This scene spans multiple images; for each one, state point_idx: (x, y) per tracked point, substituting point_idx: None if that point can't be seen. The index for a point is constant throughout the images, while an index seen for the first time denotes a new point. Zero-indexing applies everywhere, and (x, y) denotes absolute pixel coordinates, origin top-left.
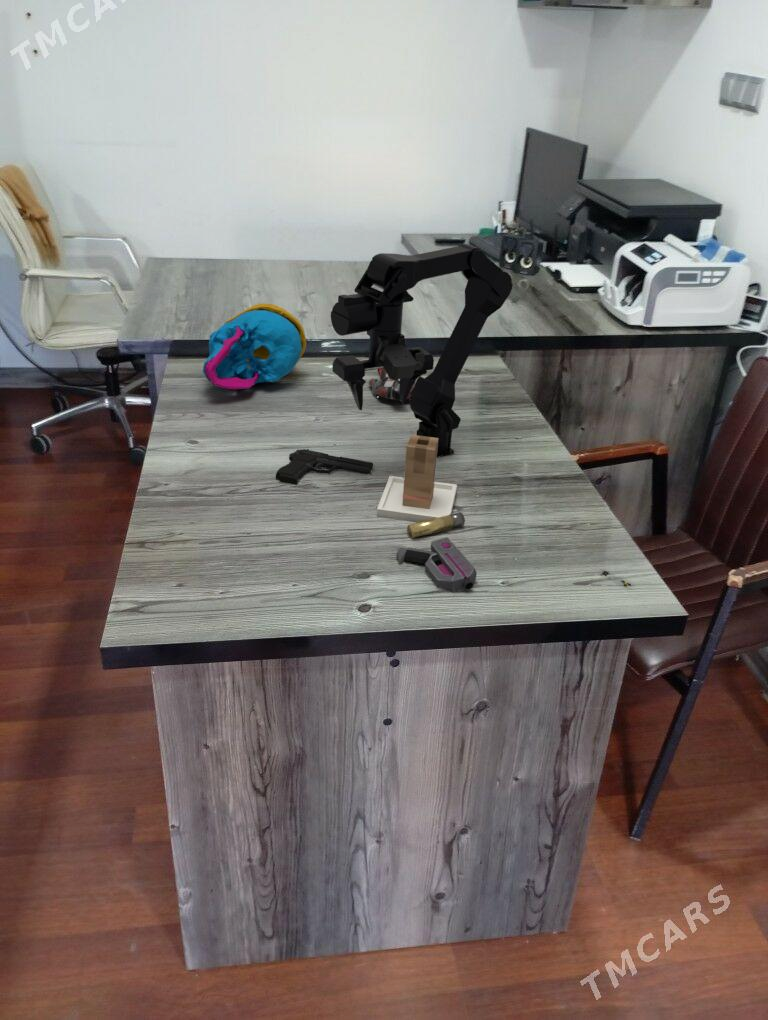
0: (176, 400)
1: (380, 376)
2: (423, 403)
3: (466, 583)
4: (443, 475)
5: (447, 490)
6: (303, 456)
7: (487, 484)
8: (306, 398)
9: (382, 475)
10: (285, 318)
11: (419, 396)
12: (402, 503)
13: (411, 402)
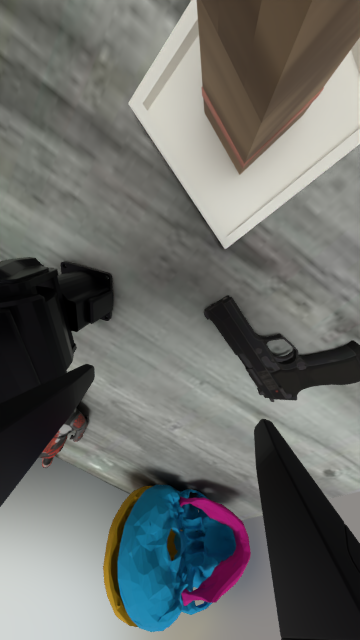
0: (260, 509)
1: (65, 440)
2: (28, 339)
3: None
4: (120, 206)
5: (156, 117)
6: (290, 384)
7: (57, 102)
8: (154, 453)
9: (213, 278)
10: (111, 570)
11: (20, 366)
12: (305, 111)
13: (59, 370)
